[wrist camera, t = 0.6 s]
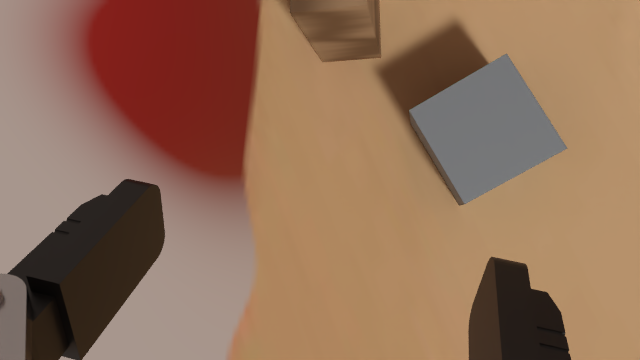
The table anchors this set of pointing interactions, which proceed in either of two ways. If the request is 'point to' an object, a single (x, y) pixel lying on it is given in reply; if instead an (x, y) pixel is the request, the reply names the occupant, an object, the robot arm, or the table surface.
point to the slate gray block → (485, 130)
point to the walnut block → (340, 27)
